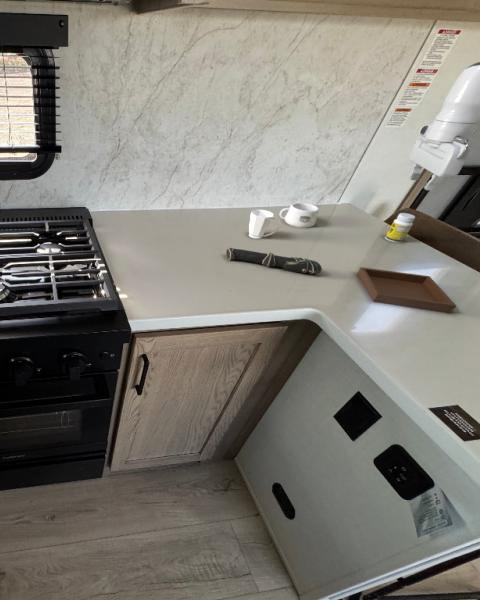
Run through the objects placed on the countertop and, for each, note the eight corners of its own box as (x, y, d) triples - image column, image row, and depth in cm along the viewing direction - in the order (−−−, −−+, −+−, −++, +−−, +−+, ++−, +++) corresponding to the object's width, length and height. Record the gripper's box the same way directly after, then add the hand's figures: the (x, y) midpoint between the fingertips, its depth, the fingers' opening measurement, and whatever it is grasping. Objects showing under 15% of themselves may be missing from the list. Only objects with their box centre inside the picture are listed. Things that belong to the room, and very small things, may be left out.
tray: (424, 284, 91) (429, 276, 90) (450, 314, 81) (456, 305, 80) (356, 274, 96) (360, 267, 94) (372, 302, 85) (377, 294, 84)
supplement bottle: (384, 235, 115) (397, 211, 110) (402, 238, 113) (416, 214, 108) (384, 240, 112) (398, 216, 107) (402, 244, 110) (417, 219, 105)
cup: (242, 231, 119) (248, 208, 114) (272, 233, 118) (280, 210, 113) (246, 240, 113) (253, 216, 109) (278, 242, 112) (287, 218, 107)
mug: (310, 219, 127) (316, 203, 123) (317, 229, 119) (324, 213, 116) (274, 215, 129) (280, 200, 126) (279, 226, 122) (285, 209, 118)
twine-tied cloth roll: (225, 251, 100) (324, 269, 91) (228, 240, 103) (325, 257, 94) (222, 262, 103) (318, 281, 94) (226, 251, 106) (319, 268, 97)
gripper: (487, 141, 84) (452, 197, 92) (444, 126, 99) (417, 175, 107) (455, 140, 85) (423, 195, 93) (418, 125, 101) (393, 173, 109)
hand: (420, 184), depth 101 cm, fingers open, 8 cm apart
